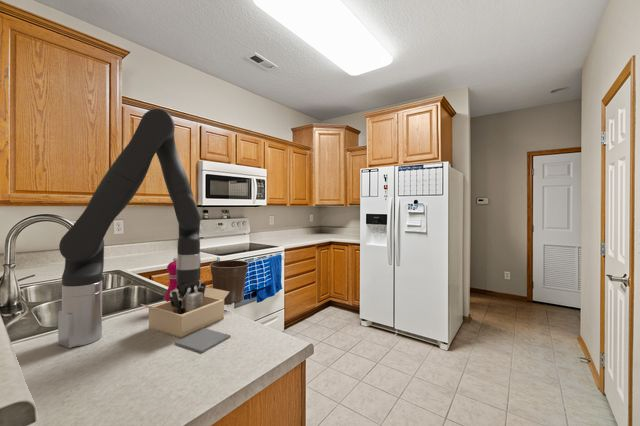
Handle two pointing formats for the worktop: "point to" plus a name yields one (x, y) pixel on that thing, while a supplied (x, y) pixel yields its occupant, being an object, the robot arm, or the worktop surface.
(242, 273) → the plant pot
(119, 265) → the worktop surface
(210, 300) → the carton
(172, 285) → the pepper mill
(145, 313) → the worktop surface
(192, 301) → the block
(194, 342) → the plate
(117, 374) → the worktop surface
